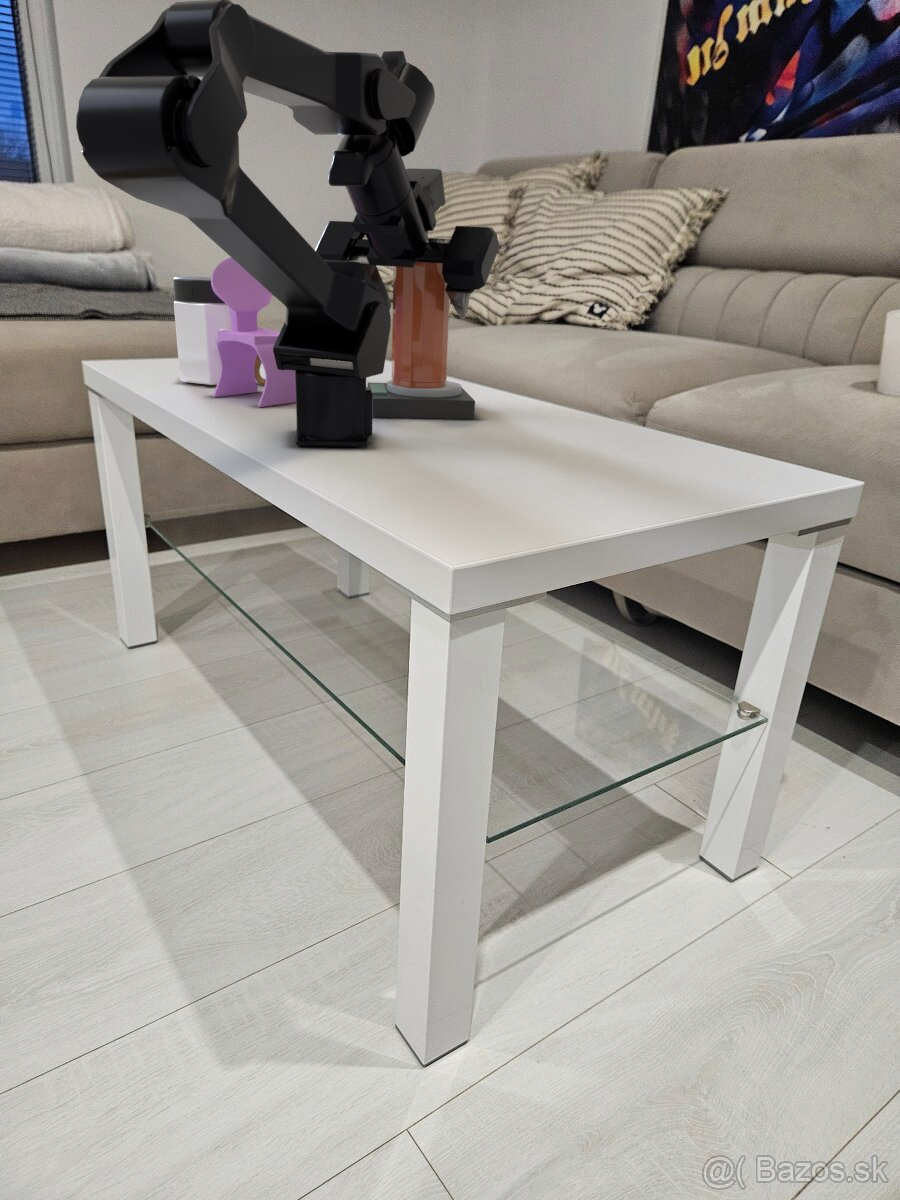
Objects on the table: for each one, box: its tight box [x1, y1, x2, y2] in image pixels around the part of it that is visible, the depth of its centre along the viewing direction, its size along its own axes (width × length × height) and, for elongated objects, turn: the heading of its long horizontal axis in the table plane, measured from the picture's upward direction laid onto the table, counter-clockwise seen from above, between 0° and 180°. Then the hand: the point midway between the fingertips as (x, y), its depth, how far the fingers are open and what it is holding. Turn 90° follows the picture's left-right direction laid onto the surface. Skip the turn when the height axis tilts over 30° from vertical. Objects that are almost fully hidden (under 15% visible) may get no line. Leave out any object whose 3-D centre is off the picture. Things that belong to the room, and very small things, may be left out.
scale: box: [367, 379, 476, 420], centre depth 93 cm, size 11×11×3 cm
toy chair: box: [211, 257, 296, 408], centre depth 92 cm, size 8×9×15 cm
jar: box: [172, 276, 232, 386], centre depth 102 cm, size 9×8×12 cm
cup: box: [391, 262, 451, 388], centre depth 90 cm, size 6×6×13 cm
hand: (425, 312), depth 91 cm, fingers open, 9 cm apart
